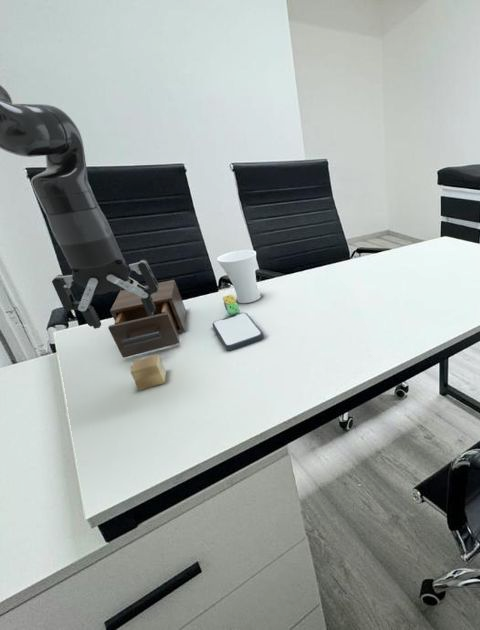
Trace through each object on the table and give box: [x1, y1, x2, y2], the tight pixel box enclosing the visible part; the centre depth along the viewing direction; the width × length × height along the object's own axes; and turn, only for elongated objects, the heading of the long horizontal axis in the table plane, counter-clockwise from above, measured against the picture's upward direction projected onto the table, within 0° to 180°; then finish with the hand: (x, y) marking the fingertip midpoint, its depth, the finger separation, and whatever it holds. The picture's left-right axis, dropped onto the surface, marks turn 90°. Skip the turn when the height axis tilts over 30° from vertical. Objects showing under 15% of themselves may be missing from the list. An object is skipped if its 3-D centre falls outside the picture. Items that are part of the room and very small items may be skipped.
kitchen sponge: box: [222, 294, 241, 317], centre depth 103 cm, size 8×3×6 cm, turn 34°
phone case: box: [211, 312, 264, 351], centre depth 96 cm, size 9×2×16 cm
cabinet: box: [109, 279, 187, 334], centre depth 100 cm, size 15×13×10 cm
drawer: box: [107, 301, 181, 358], centre depth 91 cm, size 18×11×8 cm, turn 27°
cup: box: [216, 249, 262, 304], centre depth 112 cm, size 10×10×14 cm
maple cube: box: [129, 354, 167, 391], centre depth 78 cm, size 4×4×4 cm
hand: (125, 320), depth 73 cm, fingers open, 8 cm apart
